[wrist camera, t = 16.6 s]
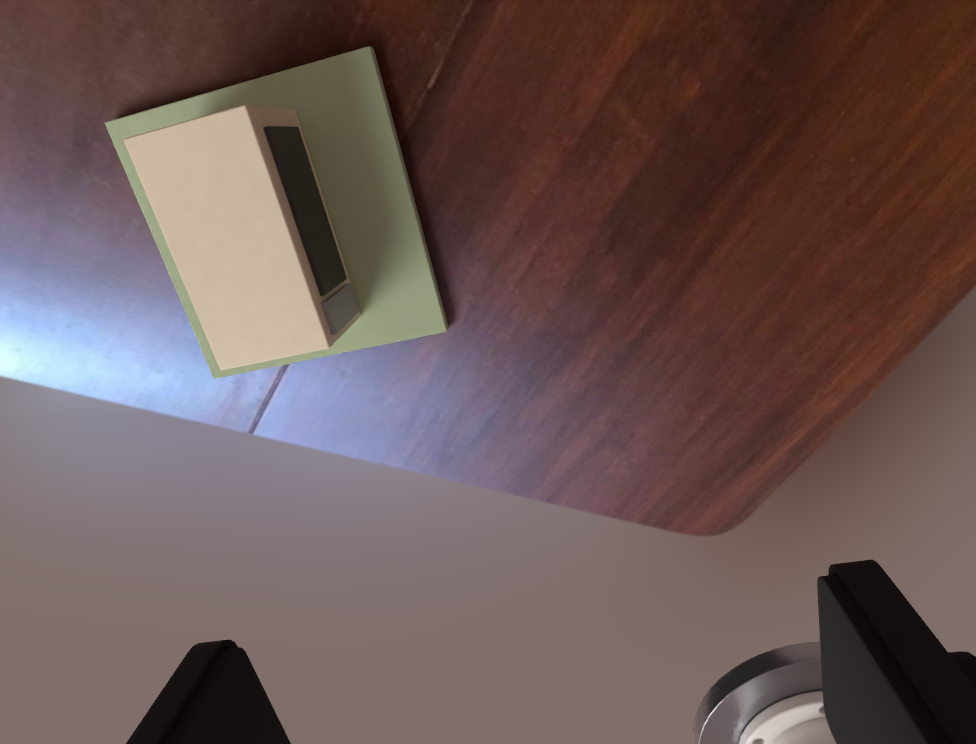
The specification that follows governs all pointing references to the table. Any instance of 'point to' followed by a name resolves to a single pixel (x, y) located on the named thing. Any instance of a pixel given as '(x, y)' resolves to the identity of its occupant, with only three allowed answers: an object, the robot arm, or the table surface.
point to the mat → (329, 195)
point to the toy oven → (248, 232)
